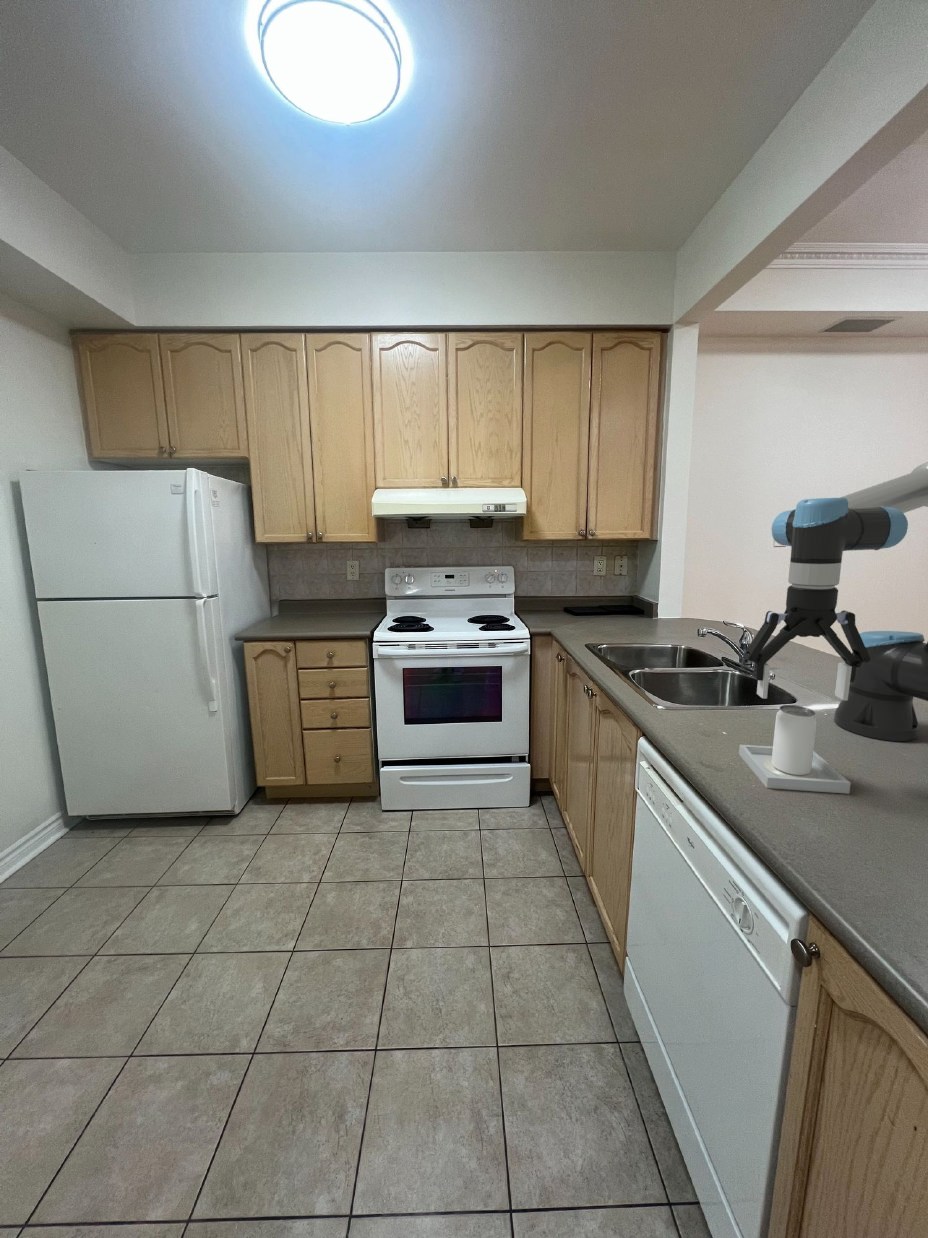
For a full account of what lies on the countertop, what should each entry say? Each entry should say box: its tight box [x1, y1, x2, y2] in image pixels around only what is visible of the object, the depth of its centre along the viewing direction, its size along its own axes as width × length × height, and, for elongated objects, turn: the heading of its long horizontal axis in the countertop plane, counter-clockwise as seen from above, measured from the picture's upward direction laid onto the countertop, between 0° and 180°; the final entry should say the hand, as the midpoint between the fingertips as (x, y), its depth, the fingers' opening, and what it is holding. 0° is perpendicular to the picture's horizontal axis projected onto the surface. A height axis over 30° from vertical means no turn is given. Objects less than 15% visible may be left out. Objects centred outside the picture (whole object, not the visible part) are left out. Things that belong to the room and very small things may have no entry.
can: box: [771, 704, 818, 776], centre depth 94 cm, size 6×6×12 cm
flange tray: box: [738, 744, 852, 795], centre depth 95 cm, size 14×14×2 cm
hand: (800, 697), depth 92 cm, fingers open, 13 cm apart
